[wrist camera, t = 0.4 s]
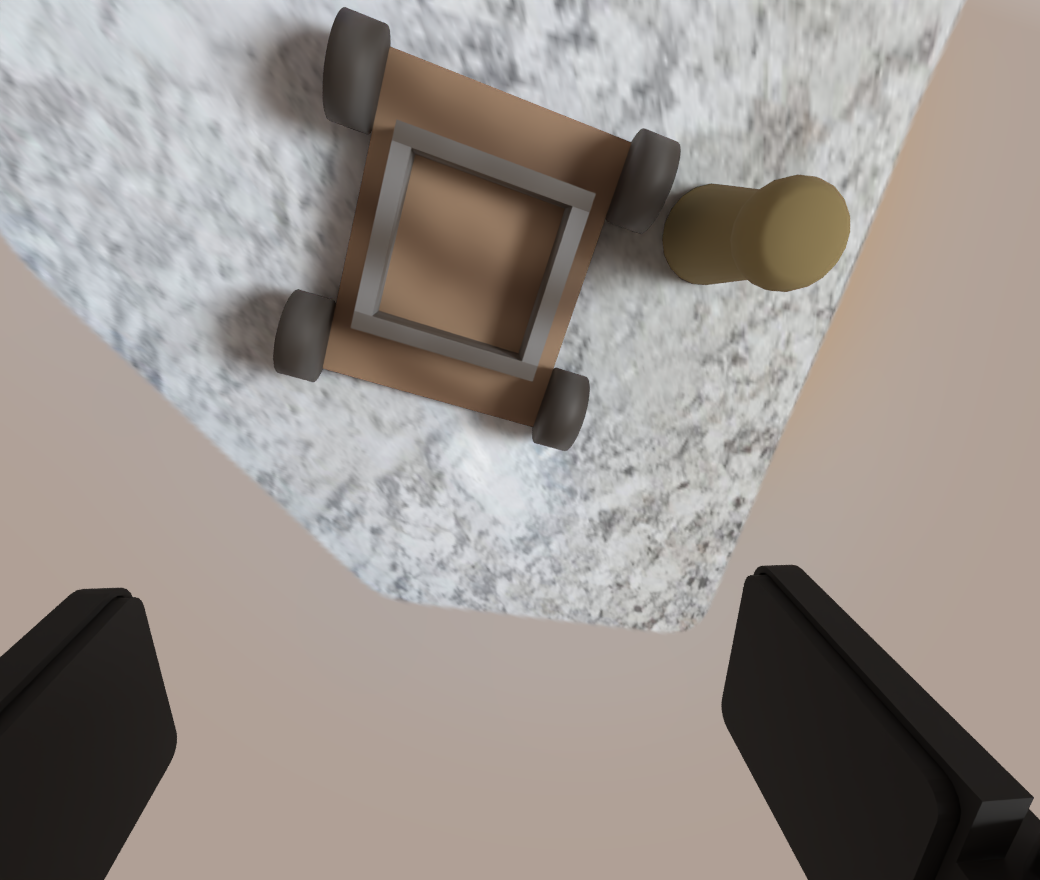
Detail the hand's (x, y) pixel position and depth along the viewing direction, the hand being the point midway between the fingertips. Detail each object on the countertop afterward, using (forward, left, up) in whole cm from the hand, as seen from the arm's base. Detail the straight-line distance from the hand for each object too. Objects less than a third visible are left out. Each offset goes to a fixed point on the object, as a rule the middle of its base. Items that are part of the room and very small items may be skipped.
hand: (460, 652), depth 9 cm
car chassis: (-5, -1, -29) cm, 29 cm away
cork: (-11, +13, -29) cm, 34 cm away
